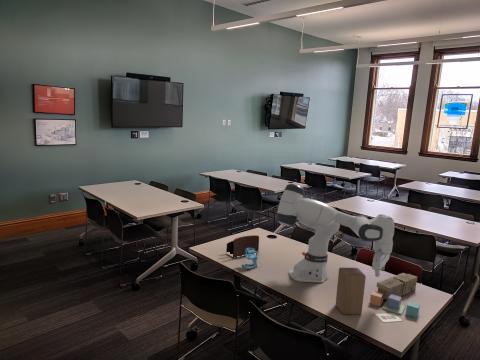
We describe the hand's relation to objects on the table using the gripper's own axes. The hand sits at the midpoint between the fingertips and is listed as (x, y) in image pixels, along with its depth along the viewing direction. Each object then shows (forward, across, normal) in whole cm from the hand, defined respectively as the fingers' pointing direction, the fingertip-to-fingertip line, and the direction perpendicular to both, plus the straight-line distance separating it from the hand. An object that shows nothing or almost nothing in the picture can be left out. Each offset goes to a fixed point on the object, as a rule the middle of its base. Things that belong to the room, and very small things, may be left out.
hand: (379, 273), depth 182 cm
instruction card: (+16, -11, -8) cm, 21 cm away
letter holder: (+16, +11, +90) cm, 92 cm away
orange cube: (+16, 0, 0) cm, 16 cm away
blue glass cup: (+16, -4, +74) cm, 76 cm away
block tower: (+16, +18, -6) cm, 25 cm away
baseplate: (+16, 0, -8) cm, 18 cm away
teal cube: (+16, 0, -17) cm, 23 cm away
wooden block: (+16, -16, +9) cm, 25 cm away
